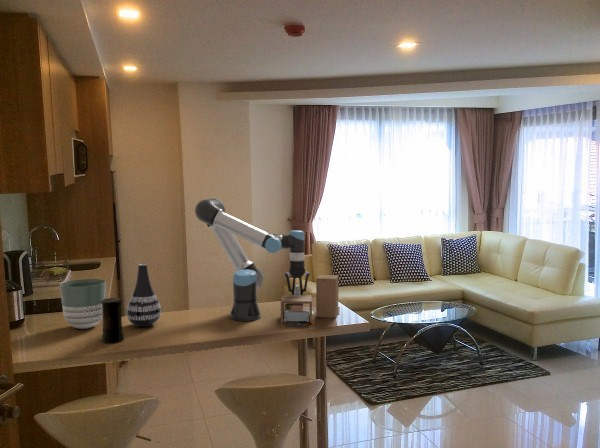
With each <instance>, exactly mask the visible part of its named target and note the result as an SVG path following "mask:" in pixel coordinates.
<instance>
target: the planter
mask: <svg viewBox="0 0 600 448" xmlns="http://www.w3.org/2000/svg"><path fill="white" fill-rule="evenodd" d="M59 288H60V297H61V305H62V312H63V313H62V314H63V316H64V318H65V319H64V320H65V321H66V322H67V323H68V324H69V325H70V326H71V327H73V328H74V329H75V328H76V329H79V330H85V329H90V328H94V327H95V326H97V325H98V324H99V323H100V322H101V321H102V320H103V315H102V309H103V308H102V303H101V301H102V300H103V299H107V298H106V297H107V296H106V293H107V292H106V290H107V289H106V288H107V281H106V280H105V279H102V278H81V279H72V280H67V281H64V282H61V283H60V284H59Z"/></svg>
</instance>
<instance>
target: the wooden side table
mask: <svg viewBox="0 0 600 448" xmlns="http://www.w3.org/2000/svg"><path fill="white" fill-rule="evenodd" d="M286 304H290V305H291V304H303V305H305V304H309V323H310V324H312V323H313V315H312V310H313V307H312V306H313V295H312V294H303V295H292V294H282V296H281V299H280V323H281V324H283V323H284V312H285V305H286Z"/></svg>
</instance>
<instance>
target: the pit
mask: <svg viewBox="0 0 600 448" xmlns="http://www.w3.org/2000/svg"><path fill="white" fill-rule="evenodd" d="M301 323H302V322H301ZM301 323H300V322H298V323H296V322H295V323H293V322H292V323H291V322H290V323H287V322H285V327H287V328H288V327H291V328H294V327H297V328H300V327H301V328H303V327H306V328H307V326H308V325H307V324H308V322H306V324H301Z"/></svg>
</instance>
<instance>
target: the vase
mask: <svg viewBox="0 0 600 448" xmlns="http://www.w3.org/2000/svg"><path fill="white" fill-rule="evenodd" d="M135 282H136V283H135V285H134V289H133V291H132V295H131V297H130V299H129V301H128V304H127V307H126V317H127V320H128V321H129V322H130V323H131V325H133V326H135V327H137V328H140V329H141V328H143V329H144V328H149V327H152V326H153V325H154V324H156V323H157V322H158V321H159V319H160V317H161V315H162V307H161V303H160V301H159V299H158V297H157V295H156V294H155V291H154V288H153V286H152V284H151V283H152V282H151V280H150V275H149V271H148V265H147V264H145V263H139V264H138V266H137V276H136V281H135Z"/></svg>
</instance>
